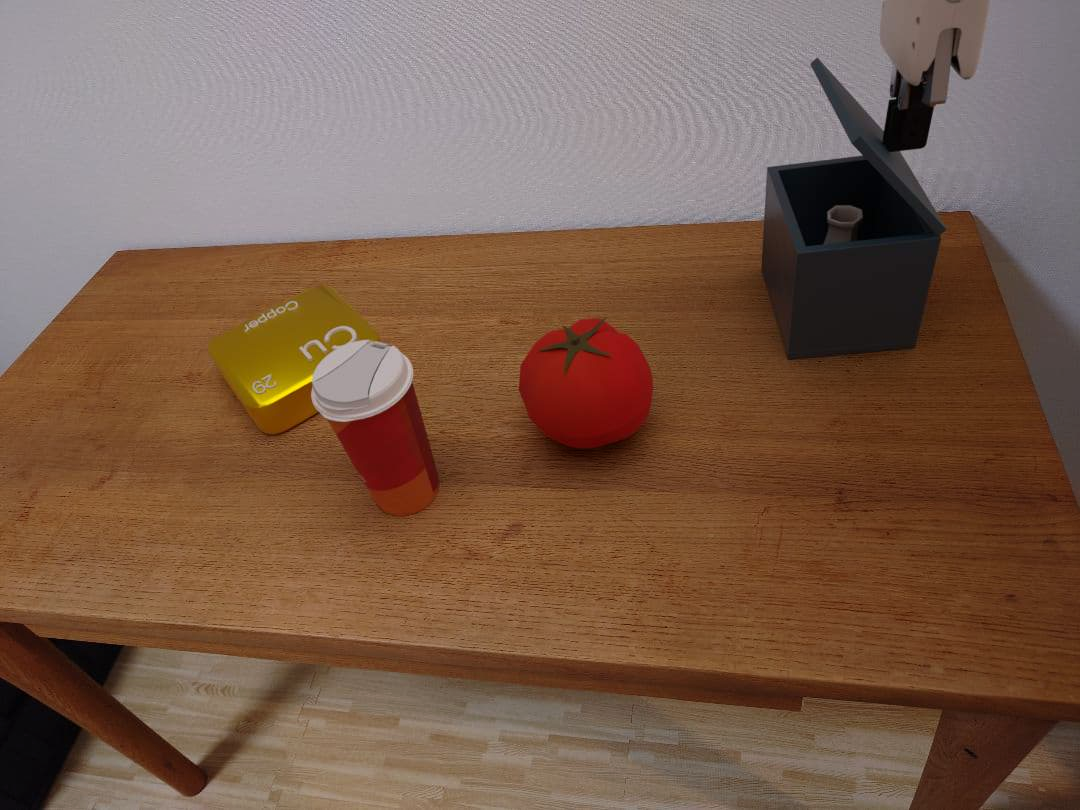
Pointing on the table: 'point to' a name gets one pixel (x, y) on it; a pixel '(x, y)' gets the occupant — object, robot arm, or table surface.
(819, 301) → the cool box
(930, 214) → the lid
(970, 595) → the table surface
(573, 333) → the tomato
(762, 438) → the table surface
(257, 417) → the element tile
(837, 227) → the flask
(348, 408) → the coffee cup
